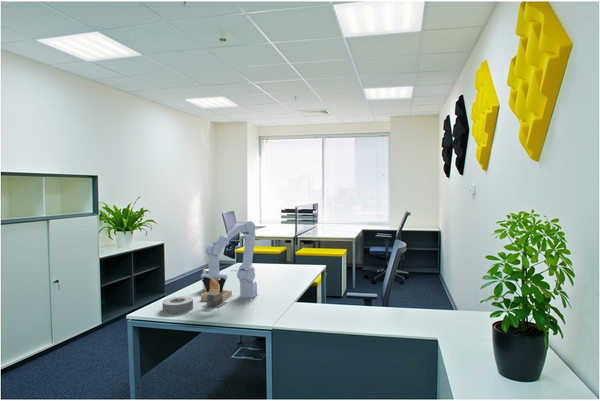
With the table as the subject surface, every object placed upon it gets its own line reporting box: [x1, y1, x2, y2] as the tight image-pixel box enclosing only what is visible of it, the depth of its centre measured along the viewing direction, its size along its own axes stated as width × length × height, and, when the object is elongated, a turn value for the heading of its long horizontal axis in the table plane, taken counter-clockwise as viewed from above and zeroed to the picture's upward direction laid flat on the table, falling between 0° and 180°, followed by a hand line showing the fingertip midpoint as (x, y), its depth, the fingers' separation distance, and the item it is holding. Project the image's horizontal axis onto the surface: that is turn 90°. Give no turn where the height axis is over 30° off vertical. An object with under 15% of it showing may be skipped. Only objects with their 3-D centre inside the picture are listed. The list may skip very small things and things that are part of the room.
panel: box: [201, 301, 228, 309], centre depth 204 cm, size 10×10×1 cm
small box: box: [202, 268, 220, 292], centre depth 238 cm, size 8×6×13 cm
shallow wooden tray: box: [200, 289, 233, 302], centre depth 217 cm, size 13×12×4 cm
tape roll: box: [162, 295, 194, 315], centre depth 199 cm, size 15×15×5 cm
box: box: [206, 291, 224, 307], centre depth 205 cm, size 5×8×6 cm, turn 165°
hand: (214, 291), depth 204 cm, fingers open, 7 cm apart
